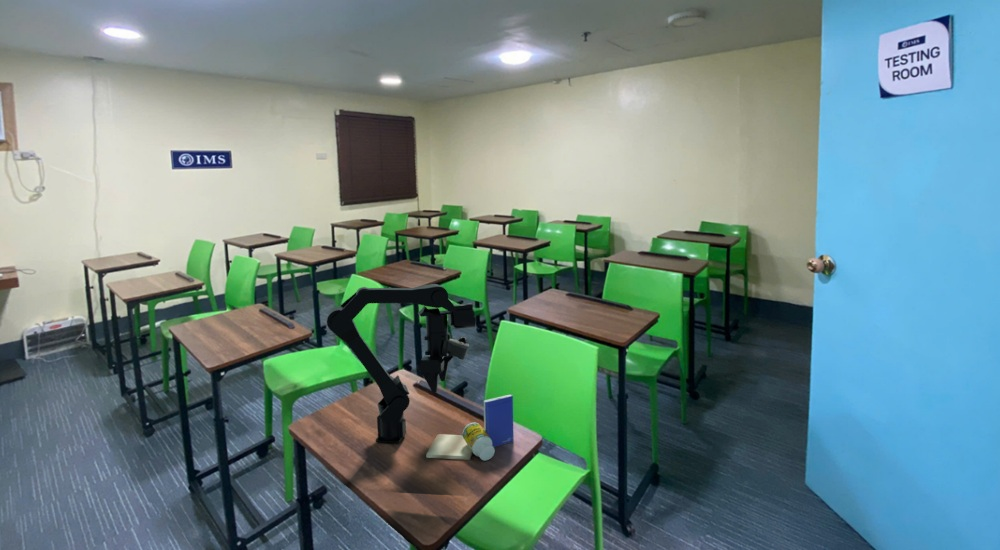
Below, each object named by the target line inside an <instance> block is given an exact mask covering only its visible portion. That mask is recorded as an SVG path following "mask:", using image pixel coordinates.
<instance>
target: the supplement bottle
mask: <svg viewBox="0 0 1000 550" xmlns="http://www.w3.org/2000/svg"><path fill="white" fill-rule="evenodd" d="M461 435H462V436H463V438H464V440H465V441H466V443H467V444H468V446H469V447H470V449H471V450H472V452H473V453H472V454H473V455H475V456H476V457H479V458H480V460H482V461H488V460H489V461H490V459H492V458H493V457H494V455H495V451H496V449H495V447H493V446H492V440H491V439H490V437H489V436H488V435H487V433H486V432H485V431H484V427H482V425H480V424H479V423H478V422H471V423H468V424H466V425H465V427H464V428H463V431H462V434H461Z"/></svg>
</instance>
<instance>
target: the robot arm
mask: <svg viewBox="0 0 1000 550" xmlns="http://www.w3.org/2000/svg"><path fill="white" fill-rule="evenodd" d="M368 304H415V305H420V306H422V309H420V310H419V311H418V312H417V314H418V315H419V317H421V318H422V317H425V329H426V335H424V341H426V350H425V351H424V356H423V357H422V358H421V359H420V360H419V361H418V362H417V371H418V372H419V373H420V374H421V375H422V376H423V378H424V380H425V382H426V384H427V385H428V387H429V389H430V390H431V393H432V394H436V393H437V392H438V385H439V380H440V381H441V382H445V381H446V378H447V373H448V368H449V363H450V361H451V360H452V359H454V357H456V358H457V359H459V360H465V358H466V357H467V355H468V351H469V349H470V343H468V338H467V337H464V336H461V337H460V338H458V339H457V338H454V339H453V338H451V337H452V334H451V333H450V332H448V331H449V329H448V327H452V329H453V330H464V329H472V328H473V329H474V328H476V323H477V322H476V321H477V317H476V314H475V311H474V310H475V309H474V308H473V307H474V305H473V303H471V302H467V303H462V304H454V303H453V302H451V300H450V299H449V293H448V290H447V289H446V288H445V287H443V286H441V285H440V284H436V283H431V284H424V285H420V286H416V287H415V286H414V287H410V288H409V287H408V288H407V287H366V286H362V287H359V288H358V289H357V290H356V292H354V294H352V295H351V296H350V297H349V298H347V299H345V301H344V302H343V303H342V304H341V305H338V306H337V305H336V306H334V307H332V308H330V310H329V311H328V313H327V316H326V325H327V327H328V329H329V330H330V331H331V332H332V333H333V334H334V335H335V336H336V337H338V338H339V339H340V340H341V341H342V342H344V343H345V344H347V345H348V347H349V348H350V350H351V351H352V352H353V354H354V355H355V356H356V358H357V360H359V362H360V364H361V365H362V366H363V367H364V369H365V370H366V371H367V373H368V374H369V375H370V377H371V378H372V379H373V380H374V383H376V385H377V386H378V388H379V390H380V393H381V396H382V399H381V400H379V402H377V409H378V412H379V414H378V415H377V416H376V423H377V424H376V425H377V437H376V439H375V442H376V443H387V444H388V443H390V444H391V443H392V444H394V443H395V444H399V443H401V440H402V439H403V438H404V437H405V435H406V434H407V429H406V428H407V426H406V425H407V424H406V419H405V418H404V412H405V411H406V410H407V409H408V408H409V406H410V403H411V402H410V397H409V395H410V392H409V390H408V387H407V385H406V384H404V383H403V382H402V380H401V378H400V376H399V375H397V376H396V377H393V376H391V374H389V372H388V371H387V370H386V368H385V367H384V366H383V364H382V363H381V362H380V360H379V359H378V357H377V356H376V355H375V353H374V352H373V350H372V349H371V348H370V347H369V345H368V343H367V342H366V341H365V340H364V338H363V336H362V335H361V334H360V332H359V329H358V327H357V325H356V323H355V320H354V319H355V318H356V317H357V316H358V315H359V314H360V312H362V310H363V309H364V308H365V307H366V306H367V305H368ZM428 307H429V308H428ZM439 308H442V309H444V310H440V309H439ZM448 325H449V326H448Z"/></svg>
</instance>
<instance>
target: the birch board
mask: <svg viewBox="0 0 1000 550" xmlns="http://www.w3.org/2000/svg"><path fill="white" fill-rule="evenodd" d="M473 454H474V453H473V452H472V450H471V449H470V447H469V446H468V444H467V443H466V441H465V440H464V438H463V436H462V434H447V433H446V434H445V433H444V434H441V433H438V434H437V435H436V437H435V439H434V440H433V442H432V444H431V445H430V448H428V451H426V459H427V458H430V459H447V460H448V459H450V460H468V461H469V460H471V458H472V456H473Z"/></svg>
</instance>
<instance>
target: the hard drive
mask: <svg viewBox="0 0 1000 550" xmlns="http://www.w3.org/2000/svg"><path fill="white" fill-rule="evenodd" d="M483 426H484V427H483V429H484V431H485V432H486V433H487V435H488V436H489V437H490V439H491V440H492V446H493V447H494V448H496V447H499V446H502V445H505V444H509V443H513V442H514V441H515V440H514V438H515V437H514V435H515V434H514V396H513V394H507V395H502V396H498V397H493V398H489V399H485V400H483Z"/></svg>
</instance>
